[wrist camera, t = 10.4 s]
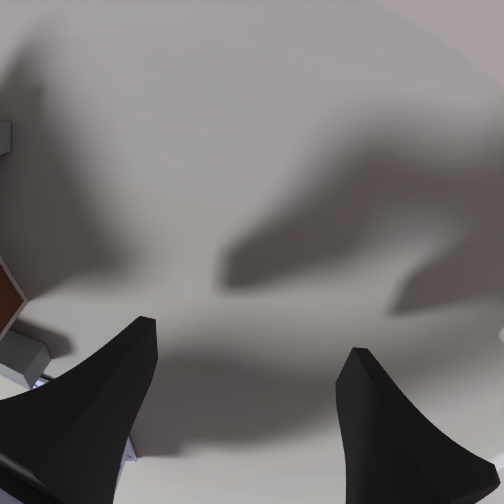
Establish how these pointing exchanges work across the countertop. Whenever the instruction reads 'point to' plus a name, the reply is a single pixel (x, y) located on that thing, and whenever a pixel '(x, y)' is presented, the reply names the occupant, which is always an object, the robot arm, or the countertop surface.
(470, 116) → the countertop surface
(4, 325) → the food container
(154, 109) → the countertop surface
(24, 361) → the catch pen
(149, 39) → the countertop surface
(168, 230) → the countertop surface
